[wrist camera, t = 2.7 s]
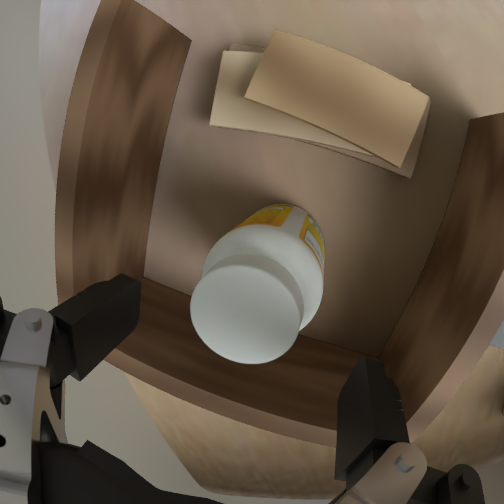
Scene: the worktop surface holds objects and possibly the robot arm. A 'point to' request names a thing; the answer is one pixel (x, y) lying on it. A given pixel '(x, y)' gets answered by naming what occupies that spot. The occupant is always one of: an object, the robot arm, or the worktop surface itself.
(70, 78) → the worktop surface
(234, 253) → the supplement bottle
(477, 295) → the walnut open frame
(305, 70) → the offcut stack
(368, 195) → the worktop surface
